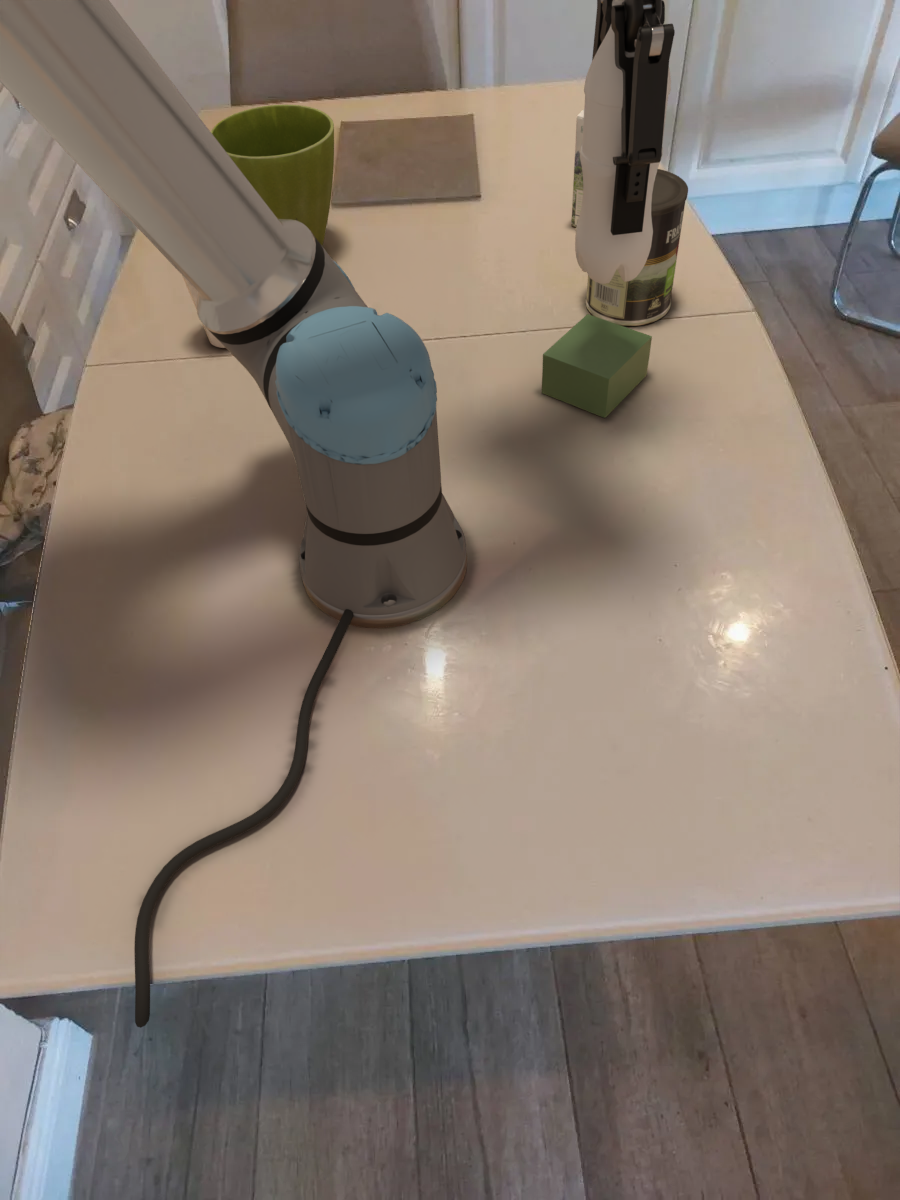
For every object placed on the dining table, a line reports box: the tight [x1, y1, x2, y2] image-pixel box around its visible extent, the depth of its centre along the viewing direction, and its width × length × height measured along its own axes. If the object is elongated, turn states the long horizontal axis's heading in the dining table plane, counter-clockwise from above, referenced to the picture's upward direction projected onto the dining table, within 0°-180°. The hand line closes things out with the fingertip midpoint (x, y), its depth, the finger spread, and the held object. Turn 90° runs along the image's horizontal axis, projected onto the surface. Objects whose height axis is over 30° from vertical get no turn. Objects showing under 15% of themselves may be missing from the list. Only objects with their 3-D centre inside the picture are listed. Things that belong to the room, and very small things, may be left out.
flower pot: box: [210, 104, 335, 247], centre depth 115 cm, size 15×15×16 cm
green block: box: [541, 313, 653, 419], centre depth 98 cm, size 9×8×5 cm
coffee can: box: [584, 168, 689, 327], centre depth 105 cm, size 10×10×14 cm
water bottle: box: [574, 0, 672, 284], centre depth 79 cm, size 7×7×25 cm
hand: (615, 210), depth 84 cm, fingers closed on water bottle, 7 cm apart
